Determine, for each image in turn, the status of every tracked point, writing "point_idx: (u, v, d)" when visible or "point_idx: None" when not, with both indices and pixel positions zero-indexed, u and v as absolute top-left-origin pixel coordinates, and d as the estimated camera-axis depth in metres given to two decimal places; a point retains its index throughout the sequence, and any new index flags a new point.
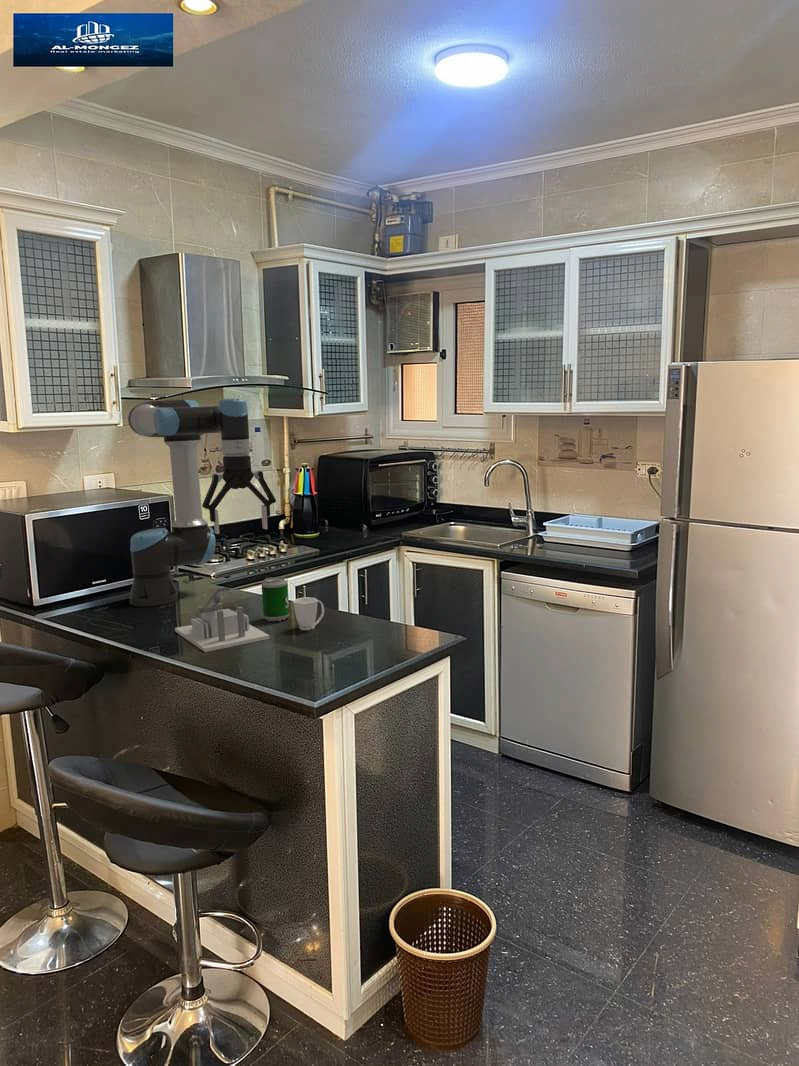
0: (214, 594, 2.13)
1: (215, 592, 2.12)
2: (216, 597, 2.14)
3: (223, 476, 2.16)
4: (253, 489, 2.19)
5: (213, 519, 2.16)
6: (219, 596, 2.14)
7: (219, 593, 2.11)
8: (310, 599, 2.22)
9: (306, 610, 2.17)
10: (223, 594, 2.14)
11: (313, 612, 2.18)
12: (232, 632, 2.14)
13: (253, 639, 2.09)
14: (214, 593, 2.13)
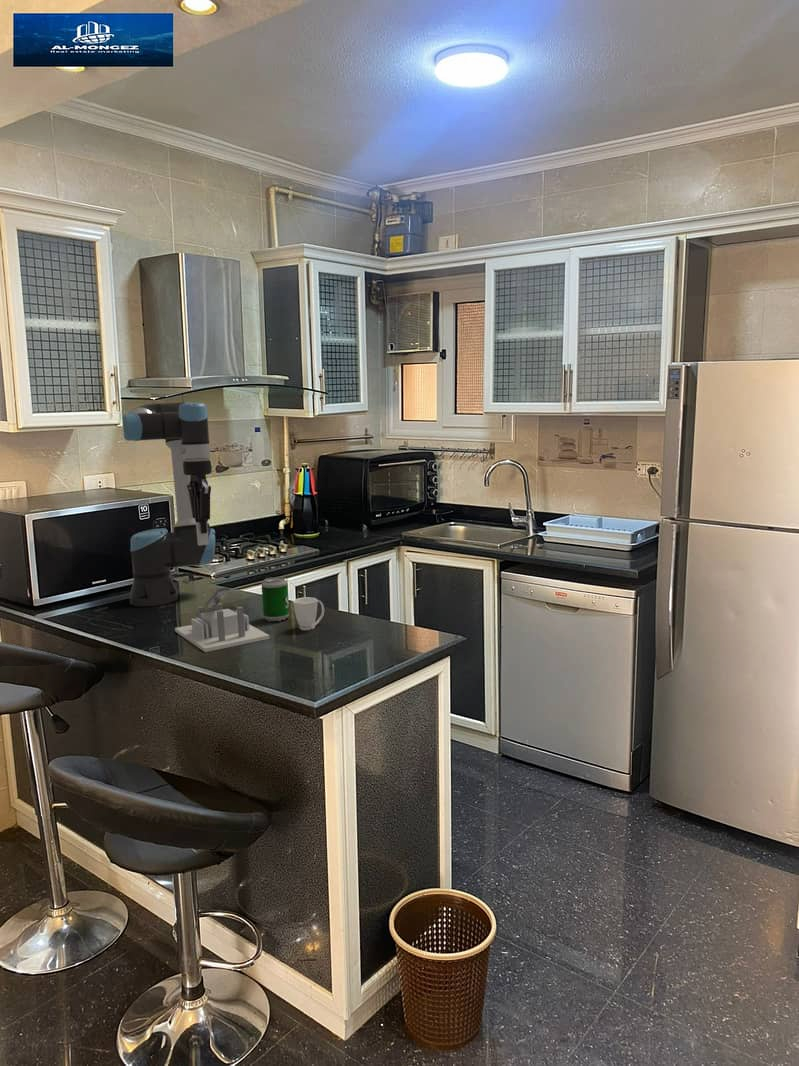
0: (214, 594, 2.13)
1: (215, 592, 2.12)
2: (216, 597, 2.14)
3: None
4: (196, 499, 2.16)
5: None
6: (219, 596, 2.14)
7: (219, 593, 2.11)
8: (310, 599, 2.22)
9: (306, 610, 2.17)
10: (223, 594, 2.14)
11: (313, 612, 2.18)
12: (232, 632, 2.14)
13: (253, 639, 2.09)
14: (214, 593, 2.13)
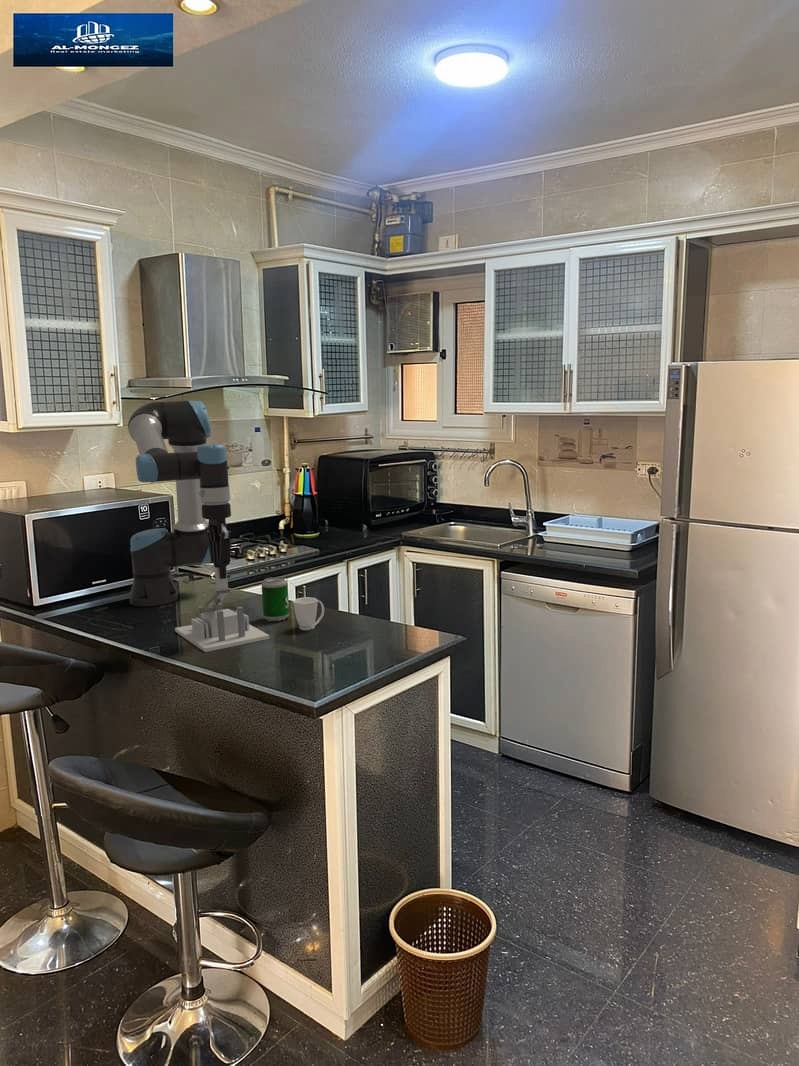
0: (214, 595, 2.13)
1: (216, 594, 2.12)
2: (216, 598, 2.14)
3: None
4: (215, 543, 2.08)
5: None
6: (219, 597, 2.14)
7: (219, 595, 2.11)
8: (310, 599, 2.22)
9: (306, 610, 2.17)
10: (223, 596, 2.13)
11: (313, 612, 2.18)
12: (232, 632, 2.14)
13: (253, 639, 2.09)
14: (214, 595, 2.13)
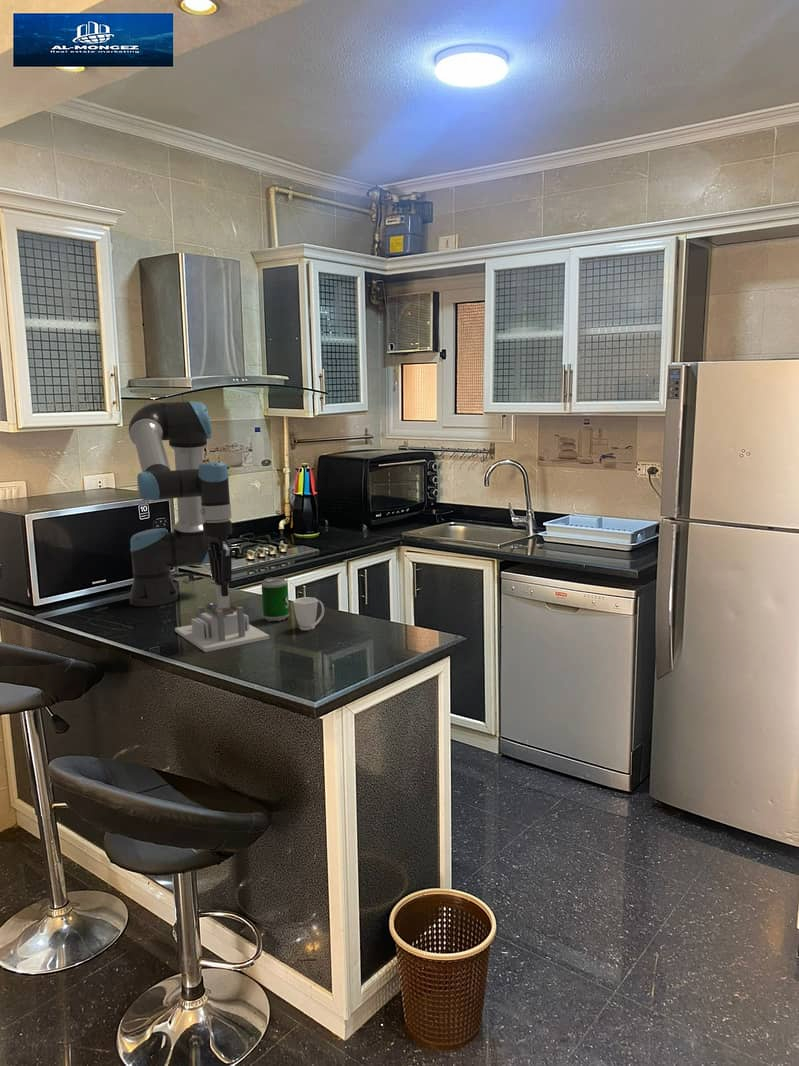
0: None
1: None
2: None
3: None
4: (217, 561, 2.09)
5: None
6: None
7: None
8: (310, 599, 2.22)
9: (306, 610, 2.17)
10: None
11: (313, 612, 2.18)
12: (232, 632, 2.14)
13: (253, 639, 2.09)
14: (217, 610, 2.12)
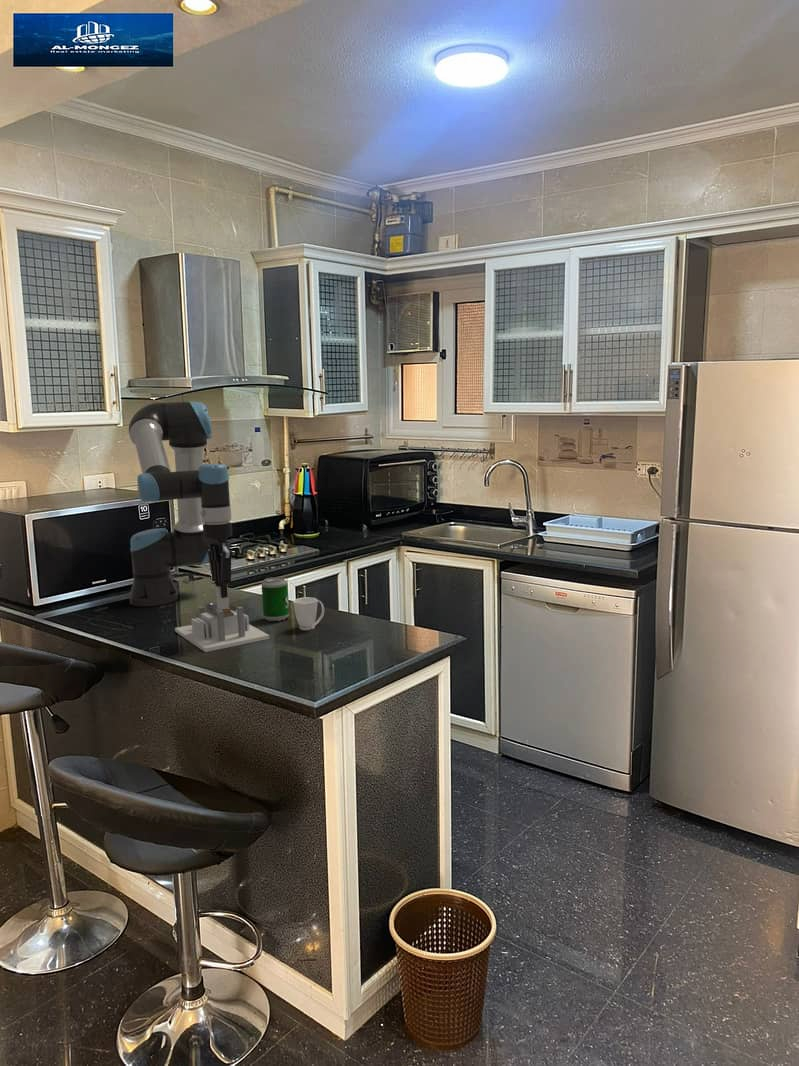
0: None
1: None
2: None
3: None
4: (217, 562, 2.09)
5: None
6: None
7: None
8: (310, 599, 2.22)
9: (306, 610, 2.17)
10: None
11: (313, 612, 2.18)
12: (232, 632, 2.14)
13: (253, 639, 2.09)
14: None
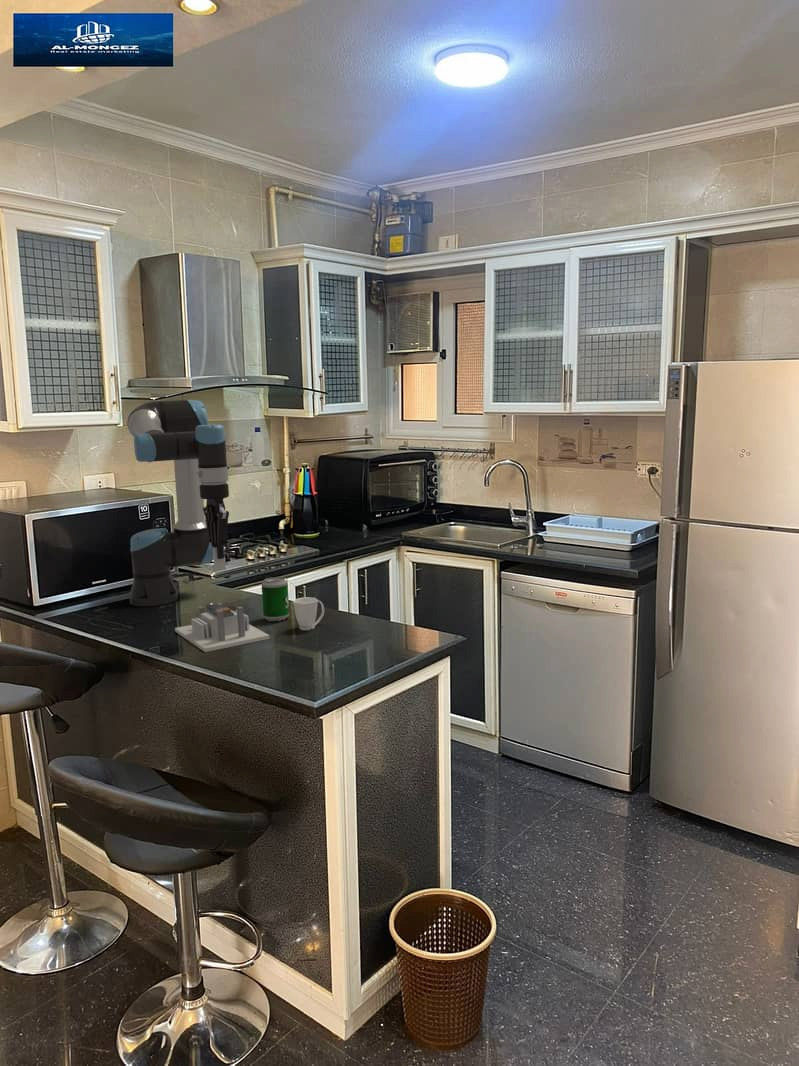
0: None
1: None
2: None
3: None
4: (213, 523, 2.09)
5: None
6: None
7: None
8: (310, 599, 2.22)
9: (306, 610, 2.17)
10: None
11: (313, 612, 2.18)
12: (232, 632, 2.14)
13: (253, 639, 2.09)
14: None
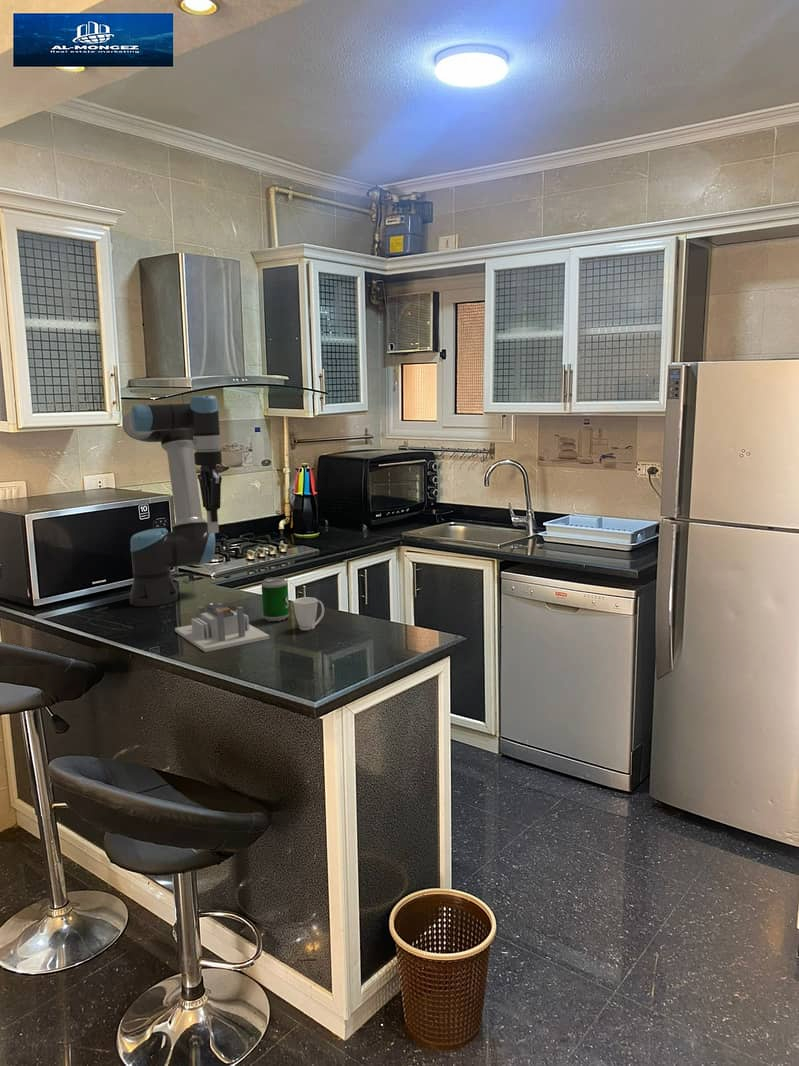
0: None
1: None
2: None
3: None
4: (207, 488, 2.23)
5: None
6: None
7: None
8: (310, 599, 2.22)
9: (306, 610, 2.17)
10: None
11: (313, 612, 2.18)
12: (232, 632, 2.14)
13: (253, 639, 2.09)
14: None
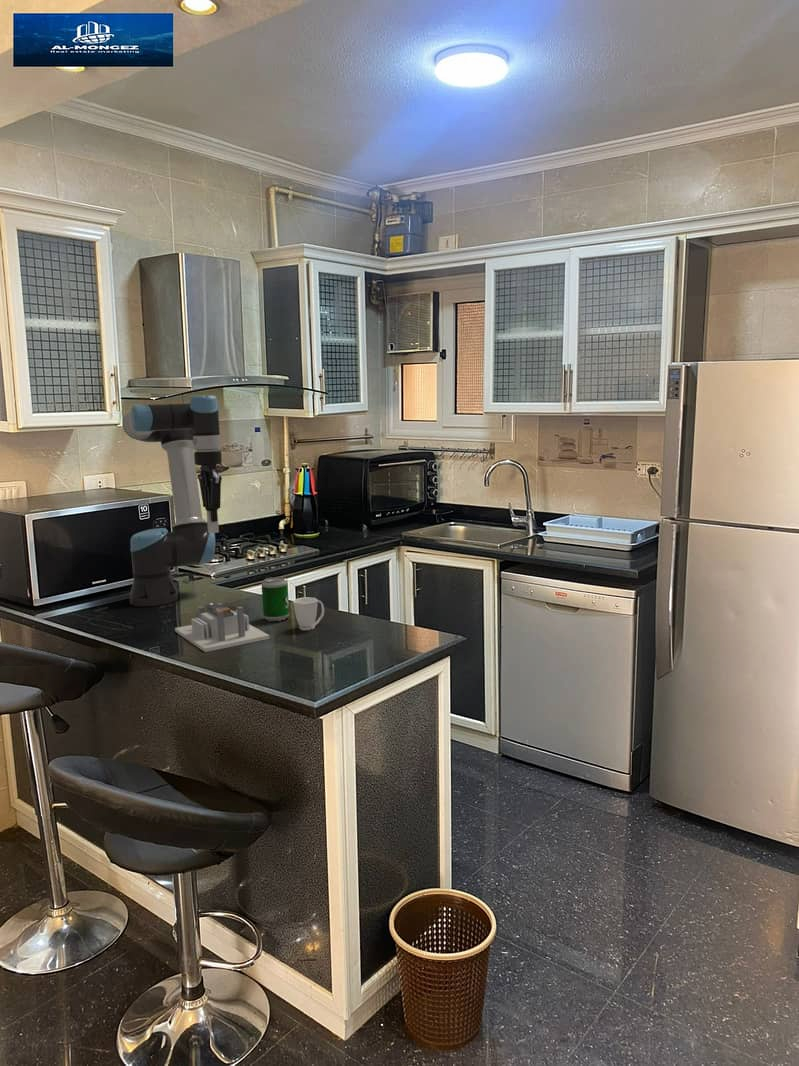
0: None
1: None
2: None
3: None
4: (207, 488, 2.23)
5: None
6: None
7: None
8: (310, 599, 2.22)
9: (306, 610, 2.17)
10: None
11: (313, 612, 2.18)
12: (232, 632, 2.14)
13: (253, 639, 2.09)
14: None
